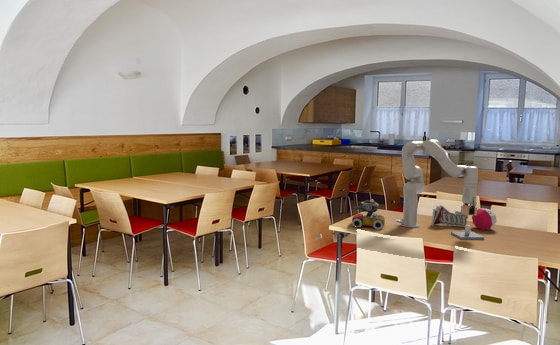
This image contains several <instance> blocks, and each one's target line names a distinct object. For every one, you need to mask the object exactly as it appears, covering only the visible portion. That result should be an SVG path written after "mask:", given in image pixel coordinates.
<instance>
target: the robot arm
mask: <svg viewBox="0 0 560 345" xmlns="http://www.w3.org/2000/svg"><path fill="white" fill-rule="evenodd" d="M423 153H424V154H425V153H428V154H429V155H430V156H431V157H432V158H434V160H436V161H437V163H438V164H439V165H440V167H441V168H442V169H443V170H444V171H445V172H446V174H448V175H450V176H451V177H452V178H460V177H464V182H463V183H464V184H463V190H462V196H461V197H462V198H461V201H462V203H463V205H466V206H470V209H469V214H470V215H469V216H473V215H474V213H475V207H477V205H478V204H477V198H478V197H477V196H478V195H477V194H478V193H477V191H478V190H477V189H478V178H479V168H478V166H469V165H468V166H467V165H463V164H462V165H461V164H459V165H458V164H457V165H456V163H454V162H453V161H452V160H451V159H450V157H449V152H448V151H447V150H445V148H443V147H442V143H441V142H440V141H439V140H437V139H428V140H413V141H412V140H411V141H408V142H407V143H405V144H404V145H403V146H402V148H401V159H402V170H403V177H404V178H405V179H406V180H410V181H408V182H406V183H405V184H404V185H403V188H402V189H403V190H402V192H403V208H402V209H403V211H402V218H401V219H395V223H399V225H400V226H401V227H404V228H418V227H419V226H420V225H419V223H418V209H419V208H418V203H419V202H418V201H419V199H418V195H419V194H422V193H423V191H424V190H425V182H424V180H425V179H424V173H423V172H424V171H423V170H422V169H423V168H421V167H420V165H419V166H418V165H416V159H415V156H414V154H423Z"/></svg>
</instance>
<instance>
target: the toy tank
mask: <svg viewBox="0 0 560 345" xmlns="http://www.w3.org/2000/svg"><path fill="white" fill-rule="evenodd" d="M361 205H362V206H359V205H358V206H353V209H354V210H361V212H363V213H356V214H354V215H353V216H352V218H351V225H352V227H353V226H356V227H360V228H361V227H362V226H370V227H373V228H374V229H375V230H377V231H379V230H382V229H383V228H384V227H385V222H386V217H385V216H383V215H381V214H377V213H376V212H377V211H378V210H379V206H380V205H379V203H377V202H376V201H375V200H374V199H373V198H371V199H370V200H367V199H366V200H364V201H361ZM364 212H365V213H366V214H364Z"/></svg>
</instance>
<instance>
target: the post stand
mask: <svg viewBox="0 0 560 345" xmlns="http://www.w3.org/2000/svg"><path fill="white" fill-rule="evenodd" d="M450 235H452V236H454V237H456V238H458V239H460V240H468V241H469V240H474V241H475V240H485V237H484V236H483V235H481V234H478V233H476V232H474V231H471V225H470V224H467V225H466V226H465V227H464V231H450Z"/></svg>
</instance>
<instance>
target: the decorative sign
mask: <svg viewBox="0 0 560 345" xmlns="http://www.w3.org/2000/svg"><path fill="white" fill-rule="evenodd" d="M468 219H469V215H464V214H462V213H461V210H454V212H453V211H449V210H448V209H447V208H445V207H444V205H442V204H440V205H436V206H435V208H433V209H432V216H431V223H430V225H431V226H432V225H435V226H439V225H442V226H443V225H446V226H451V227H453V226H455V227H461V228H465V226H466V225H468Z"/></svg>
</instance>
